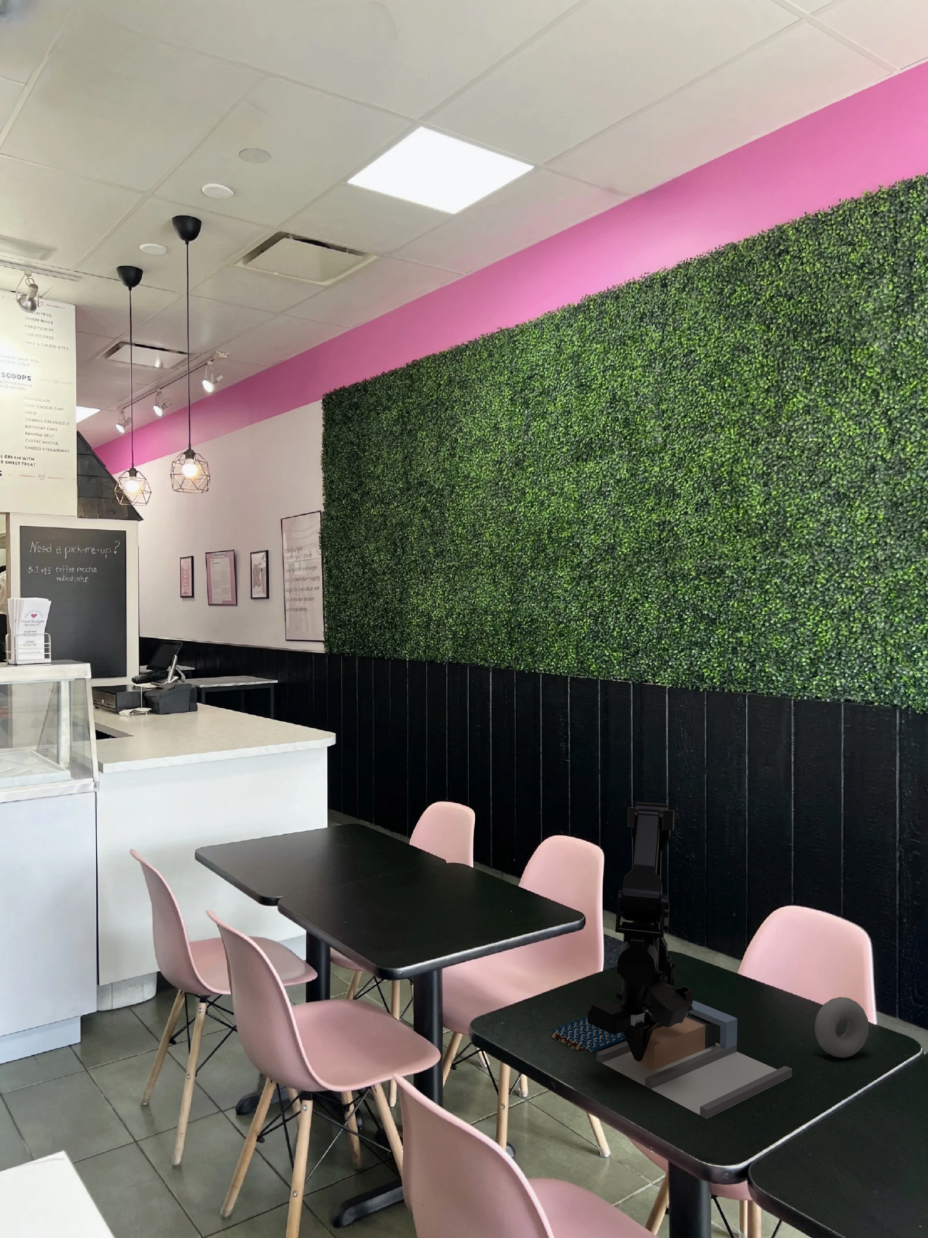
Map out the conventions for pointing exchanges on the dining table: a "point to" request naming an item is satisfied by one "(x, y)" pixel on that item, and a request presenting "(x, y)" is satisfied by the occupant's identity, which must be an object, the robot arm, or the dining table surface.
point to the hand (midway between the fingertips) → (638, 1060)
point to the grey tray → (702, 1070)
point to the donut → (854, 1032)
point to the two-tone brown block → (678, 1041)
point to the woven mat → (585, 1036)
